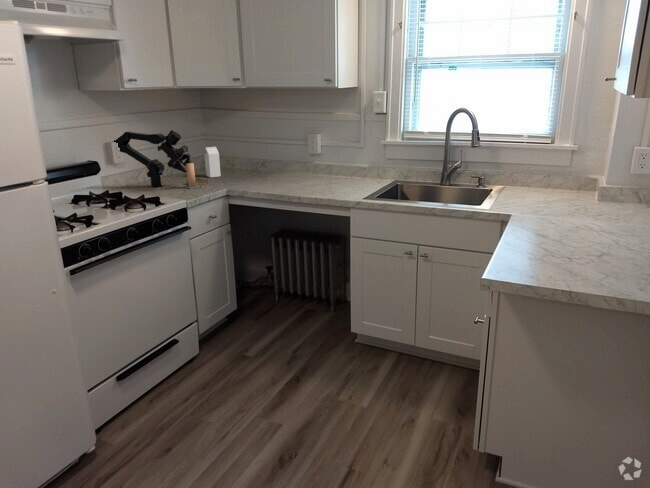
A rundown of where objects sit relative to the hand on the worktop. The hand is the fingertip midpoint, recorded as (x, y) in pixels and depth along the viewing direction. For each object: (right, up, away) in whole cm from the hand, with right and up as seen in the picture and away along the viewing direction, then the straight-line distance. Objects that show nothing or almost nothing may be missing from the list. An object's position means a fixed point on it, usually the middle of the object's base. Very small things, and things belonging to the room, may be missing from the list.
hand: (189, 170), depth 286 cm
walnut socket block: (+1, -6, +14) cm, 15 cm away
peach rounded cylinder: (+1, -9, +3) cm, 9 cm away
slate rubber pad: (+1, -9, +3) cm, 10 cm away
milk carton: (+5, +2, +38) cm, 39 cm away
